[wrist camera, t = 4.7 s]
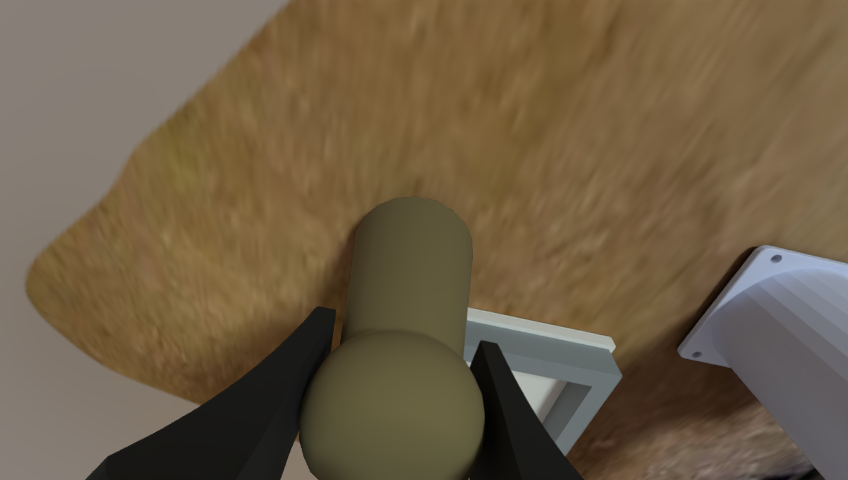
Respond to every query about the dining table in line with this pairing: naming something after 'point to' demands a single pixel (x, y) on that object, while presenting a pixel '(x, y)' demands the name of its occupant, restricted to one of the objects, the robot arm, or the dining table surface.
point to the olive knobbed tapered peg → (399, 356)
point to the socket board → (551, 369)
